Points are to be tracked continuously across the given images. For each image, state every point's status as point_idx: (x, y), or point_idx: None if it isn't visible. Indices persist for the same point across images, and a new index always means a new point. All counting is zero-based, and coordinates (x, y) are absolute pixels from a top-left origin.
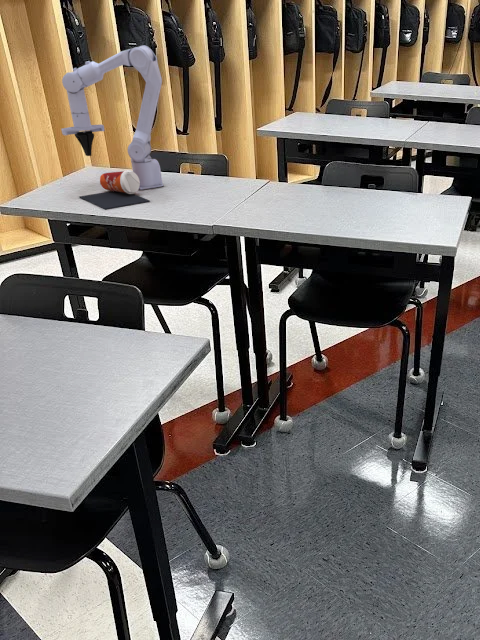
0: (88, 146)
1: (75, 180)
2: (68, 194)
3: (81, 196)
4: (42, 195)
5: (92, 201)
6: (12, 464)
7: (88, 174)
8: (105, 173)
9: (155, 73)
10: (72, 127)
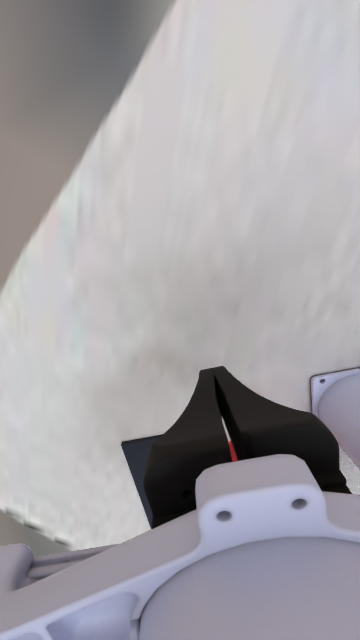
0: (232, 442)
1: (149, 168)
2: (93, 392)
3: (126, 447)
4: (8, 370)
5: (146, 502)
6: None
7: (239, 37)
8: (233, 457)
9: None
10: (118, 584)
